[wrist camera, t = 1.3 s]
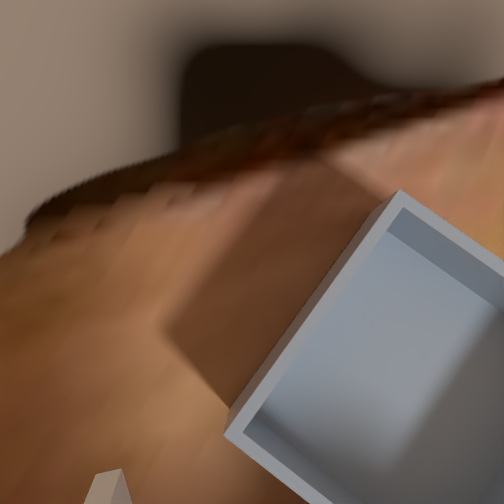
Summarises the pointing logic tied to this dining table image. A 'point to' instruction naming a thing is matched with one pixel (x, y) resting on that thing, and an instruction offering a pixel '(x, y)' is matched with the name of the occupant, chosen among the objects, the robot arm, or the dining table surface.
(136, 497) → the dining table surface
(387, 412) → the bin
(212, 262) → the dining table surface
